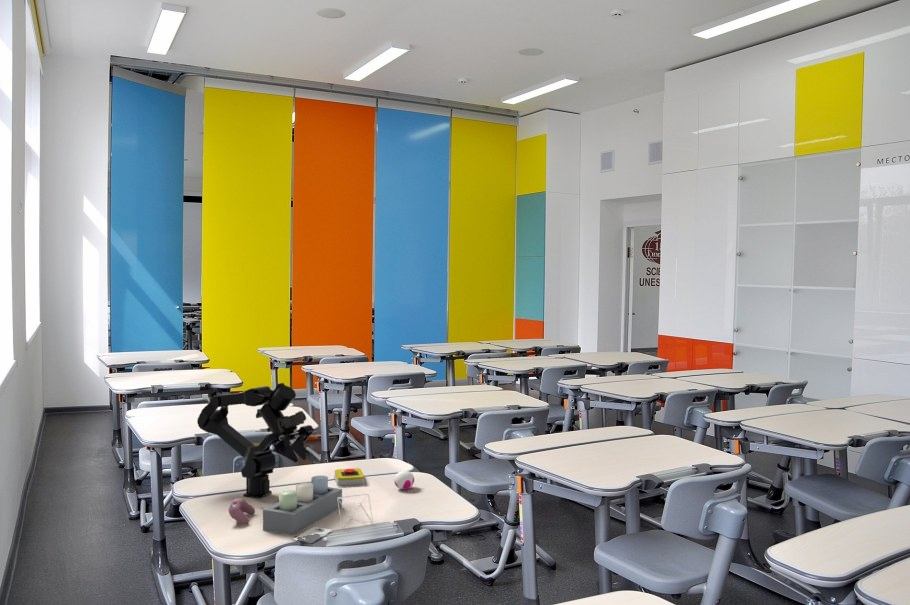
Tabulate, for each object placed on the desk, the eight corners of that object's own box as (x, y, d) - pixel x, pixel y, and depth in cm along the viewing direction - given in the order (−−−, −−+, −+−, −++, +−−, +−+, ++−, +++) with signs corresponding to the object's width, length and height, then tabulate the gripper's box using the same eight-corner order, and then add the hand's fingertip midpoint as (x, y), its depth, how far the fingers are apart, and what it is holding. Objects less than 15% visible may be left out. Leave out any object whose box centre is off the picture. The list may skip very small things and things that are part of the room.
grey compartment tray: (262, 529, 188) (262, 509, 188) (313, 503, 212) (313, 485, 211) (294, 534, 185) (294, 514, 184) (341, 507, 208) (342, 489, 208)
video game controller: (242, 519, 201) (231, 497, 201) (257, 511, 202) (246, 490, 201) (234, 531, 191) (223, 509, 191) (249, 523, 192) (238, 501, 191)
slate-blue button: (308, 496, 204) (308, 479, 204) (317, 492, 209) (317, 474, 208) (322, 498, 202) (322, 480, 202) (330, 494, 207) (330, 476, 207)
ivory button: (292, 504, 197) (292, 486, 196) (302, 499, 201) (302, 481, 201) (306, 506, 195) (307, 488, 195) (316, 501, 199) (316, 483, 199)
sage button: (275, 513, 189) (275, 494, 189) (285, 508, 194) (285, 489, 193) (290, 515, 187) (290, 496, 187) (300, 510, 192) (300, 491, 192)
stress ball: (402, 502, 224) (411, 487, 221) (385, 485, 227) (394, 470, 225) (416, 495, 230) (424, 481, 228) (400, 478, 233) (408, 464, 231)
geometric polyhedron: (334, 521, 196) (334, 494, 196) (365, 516, 200) (365, 490, 200) (344, 533, 187) (344, 505, 186) (376, 528, 190) (376, 501, 190)
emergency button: (337, 476, 228) (333, 464, 242) (337, 489, 228) (333, 476, 242) (366, 474, 230) (360, 462, 245) (365, 487, 230) (359, 475, 245)
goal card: (292, 540, 181) (292, 538, 181) (313, 528, 190) (313, 525, 190) (312, 543, 178) (312, 541, 178) (332, 531, 188) (332, 528, 188)
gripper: (265, 408, 204) (292, 450, 198) (310, 399, 220) (336, 438, 214) (247, 431, 208) (272, 473, 203) (292, 421, 224) (317, 460, 218)
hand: (301, 460), depth 209 cm, fingers open, 3 cm apart
